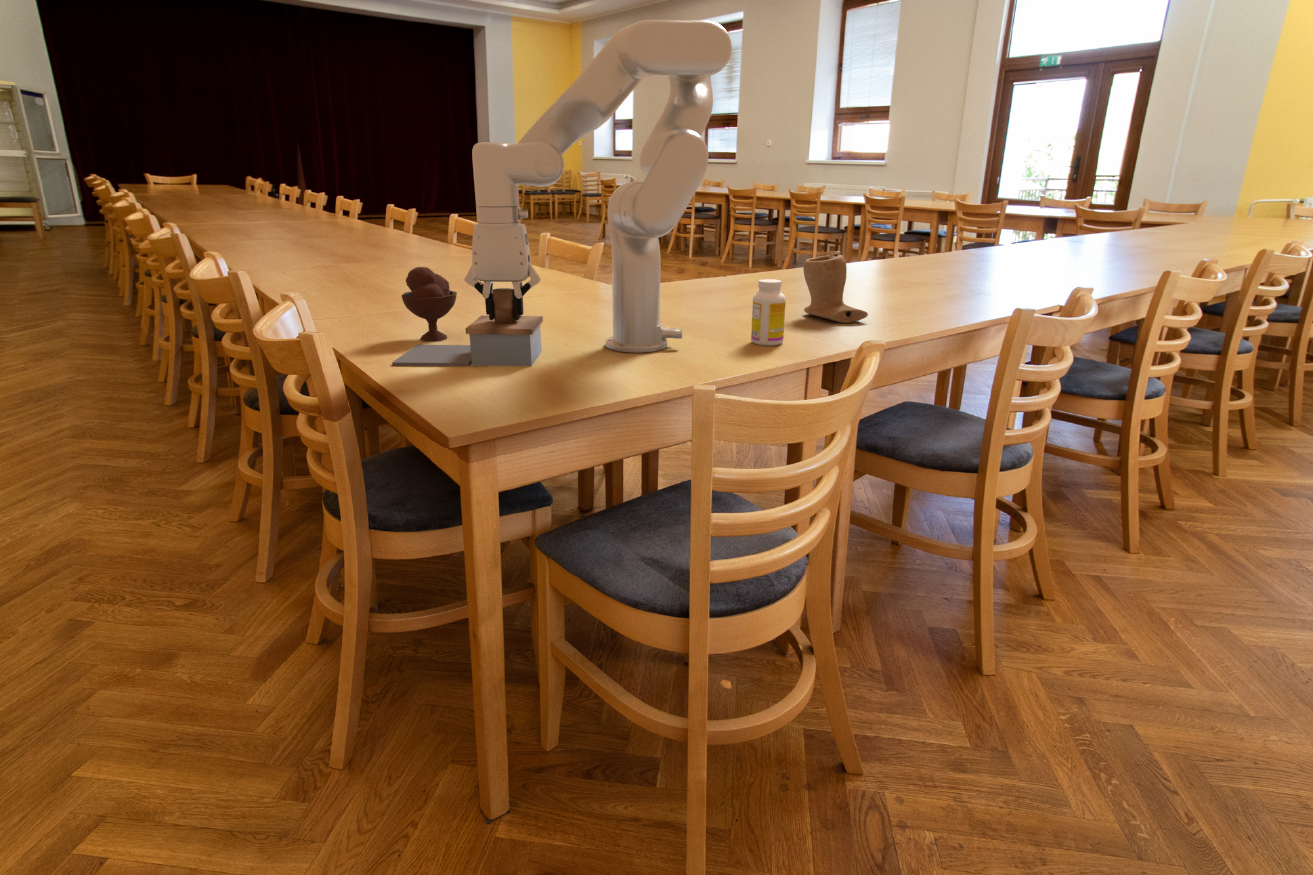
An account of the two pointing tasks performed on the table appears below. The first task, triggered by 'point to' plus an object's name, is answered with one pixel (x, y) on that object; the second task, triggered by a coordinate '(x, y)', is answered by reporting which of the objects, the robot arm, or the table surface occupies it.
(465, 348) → the mat
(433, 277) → the ice cream bowl
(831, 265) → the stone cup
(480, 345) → the open box
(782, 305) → the supplement bottle
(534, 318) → the lid
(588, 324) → the table surface
